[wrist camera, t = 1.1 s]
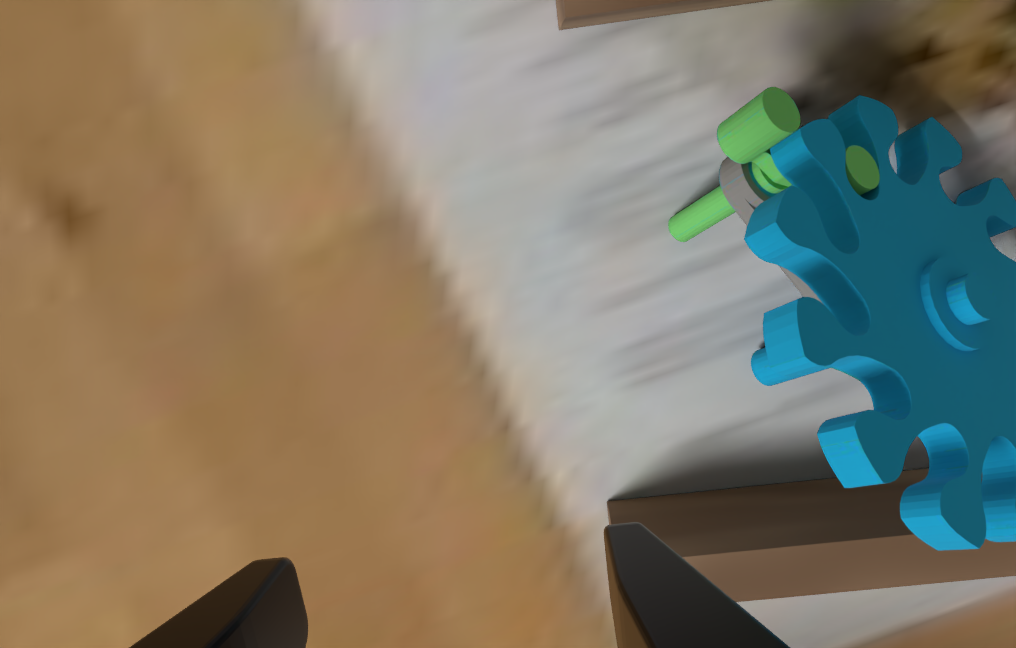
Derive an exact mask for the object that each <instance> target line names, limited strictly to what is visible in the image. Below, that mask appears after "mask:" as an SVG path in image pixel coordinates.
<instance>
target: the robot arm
mask: <svg viewBox="0 0 1016 648" xmlns="http://www.w3.org/2000/svg"><path fill="white" fill-rule="evenodd" d="M604 542H605V551H606V561H607V571H608V581H609V590H610V598H611V606H612V613H613V619H614V626H615V633H616V639H617V646H618V648H790V647H789V646H787V645H786V644H785V643H784V642H783V641H781V640H780V639H779V638H778V637H777V636H775V635H774V634H773V633H772V632H771V631H770V630H768V629H767V628H766V627H765V626H764V625H762V624H761V623H760V622H759V621H758V620H756V619H755V618H754V617H753V616H752V615H750V614H749V613H748V612H747V611H746V610H744V609H743V608H742V607H741V606H740V605H738V604H737V603H736V602H735V601H734V600H732V599H731V598H730V597H729V596H728V595H726V594H725V593H724V592H723V591H722V590H720V589H719V588H718V587H717V586H716V585H714V584H713V583H712V582H711V581H710V580H708V579H707V578H706V577H705V576H704V575H703V574H701V573H700V572H699V571H698V570H697V569H695V568H694V567H693V566H692V565H691V564H689V563H688V562H687V561H686V560H685V559H683V558H682V557H681V556H680V555H679V554H677V553H676V552H675V551H674V550H673V549H671V548H670V547H669V546H668V545H667V544H665V543H664V542H663V541H662V540H661V539H659V538H658V537H657V536H656V535H655V534H653V533H652V532H651V531H650V530H649V529H647V528H646V527H645V526H644V525H643V524H641V523H638V522H631V523H622V524H612V525H608V526H606V527H605V529H604ZM307 637H308V619H307V613H306V609H305V605H304V601H303V597H302V593H301V589H300V585H299V581H298V577H297V573H296V569H295V567H294V565H293V563H292V561H291V560H289V559H288V558H285V557H282V558H272V559H261V560H256V561H253V562H251V563H250V564H248V565H247V566H245V567H244V568H243V569H241V570H240V571H238V572H237V573H235V574H234V575H233V576H231V577H230V578H228V579H227V580H225V581H224V582H223V583H221V584H220V585H218V586H217V587H215V588H214V589H212V590H211V591H210V592H208V593H207V594H205V595H204V596H202V597H201V598H200V599H198V600H197V601H195V602H194V603H192V604H191V605H190V606H188V607H187V608H185V609H184V610H182V611H181V612H179V613H178V614H177V615H175V616H174V617H172V618H171V619H169V620H168V621H167V622H165V623H164V624H162V625H161V626H159V627H158V628H157V629H155V630H154V631H152V632H151V633H149V634H148V635H146V636H145V637H144V638H142V639H141V640H139V641H138V642H136V643H135V644H134V645H132V646H131V647H129V648H305V647H306V642H307Z"/></svg>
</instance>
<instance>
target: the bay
mask: <svg viewBox="0 0 1016 648" xmlns="http://www.w3.org/2000/svg"><path fill="white" fill-rule="evenodd" d="M763 1H770V0H556V7H557V17H558V26H559V30H563V29H570V28H578V27H585V26H592V25H599V24H606V23H613V22H620V21H628V20H635V19H642V18H649V17H656V16H663V15H670V14H677V13H685V12H692V11H699V10H706V9H713V8H720V7H727V6H735V5H742V4H749V3H756V2H763ZM928 472H929V468H927V469H917V470H907V471H902V472H901V474H900V476H899V477H898V478H897V479H896V480H895V481H893V482H890V483H885V484H877V485H870V486H862V487H855V488H844V487H843V485H842V484H841V482H840V481H839V479H838V478H830V479H820V480H810V481H801V482H791V483H781V484H771V485H762V486H752V487H742V488H733V489H723V490H713V491H704V492H694V493H684V494H675V495H665V496H655V497H645V498H636V499H626V500H616V501H607V507H608V517H609V525H612V524H622V523H631V522H638V523H641V524H643V525H644V526H645V527H646V528H647V529H649V530H650V531H651V532H652V533H653V534H655V535H656V536H657V537H658V538H659V539H661V540H662V541H663V542H664V543H665V544H667V545H668V546H669V547H670V548H671V549H673V550H674V551H675V552H676V553H677V554H679V555H680V556H681V557H682V558H683V559H685V560H686V561H687V562H688V563H689V564H691V565H692V566H693V567H694V568H695V569H697V570H698V571H699V572H700V573H701V574H703V575H704V576H705V577H706V578H707V579H708V580H710V581H711V582H712V583H713V584H714V585H716V586H717V587H718V588H719V589H720V590H722V591H723V592H724V593H725V594H726V595H728V596H729V597H730V598H731V599H732V600H734V601H735V602H741V601H752V600H762V599H773V598H784V597H794V596H805V595H815V594H826V593H837V592H847V591H858V590H868V589H879V588H890V587H900V586H911V585H921V584H932V583H942V582H953V581H964V580H974V579H985V578H995V577H1006V576H1016V541H1014V542H993V541H989V540H987V539H985V540H984V543H983V545H982V546H981V548H980V549H963V550H940V551H938V550H936V549H934V548H933V547H931V546H930V545H928V544H926V543H925V542H923V541H922V540H921V539H919V538H918V537H917V536H916V535H915V534H914V533H913V532H912V531H911V530H910V529H909V528H908V527H907V526H906V525H905V523H904V522H903V521H902V519H901V516H900V501H901V497H902V494H903V492H904V491H905V489H906V488H907V487H909V486H910V485H913V484H915V483H918V482H920V481H922V480H924V479H925V478H926V477H927V475H928ZM981 483H982V476H981Z"/></svg>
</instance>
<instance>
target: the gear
mask: <svg viewBox="0 0 1016 648" xmlns="http://www.w3.org/2000/svg"><path fill="white" fill-rule="evenodd" d="M799 126H800V114H799V111H798V108H797V106H796V104H795V103H794V101H793V100H792V98H791V97H790V96H789V95H788V94H787V93H786V92H784V91H783V90H781V89H779V88H776V87H770V88H767V89H766V90H764V91H763V92H762V93H760V94H759V95H758V96H756V97H755V98H754V99H752V100H751V101H750V102H749V103H747V104H746V105H745V106H743V107H742V108H741V109H739V110H738V111H737V112H735V113H734V114H733V115H731V116H730V117H729V118H727V119H726V120H725V121H724V122H722V123H721V124H720V125H719V127H718V130H717V138H718V142H719V145H720V147H721V148H722V150H723V152H724V153H725V154H726V155H727V156H728V157H727V158H726V159H725V160H724V161H723V162H722V164H721V166H720V169H719V182H720V186H718V187H717V188H715V189H714V190H712V191H711V192H709V193H708V194H706V195H705V196H703V197H702V198H700V199H699V200H697V201H696V202H694V203H693V204H691V205H690V206H688V207H686V208H685V209H683V210H682V211H680V212H679V213H677V214H676V215H674V216H673V217H671V218H670V220H669V224H668V226H669V230H670V233H671V234H672V236H673V237H674V238H675V239H676V240H678V241H680V242H686V241H688V240H689V239H691V238H693V237H694V236H696V235H698V234H699V233H701V232H703V231H704V230H706V229H708V228H709V227H711V226H713V225H714V224H716V223H718V222H719V221H721V220H723V219H724V218H726V217H728V216H730V215H731V214H733V213H735V212H736V213H737V214H738V215H739V216H740V218H741V219H742V220H743V221H744V223H745V224H746V225H747V230H746V234H745V238H744V240H745V241H746V243H747V245H748V247H749V248H750V249H751V250H752V252H753V253H754V254H755V255H757V256H758V257H759V258H760V259H762V260H764V261H766V262H769V263H773V264H777V265H779V266H780V268H781V269H782V270H783V271H784V273H785V274H786V275H787V276H788V278H789V279H790V280H791V281H792V283H793V284H794V285H795V286H796V288H797V289H798V290H799V292H800V293H801V294H802V295H803V297H802V298H799V299H797V300H795V301H792V302H790V303H787V304H785V305H783V306H780V307H778V308H775V309H773V310H771V311H768V312H766V313H764V320H763V335H764V342H765V348H762V349H760V350H757V351H756V352H755V353H754V354H753V356H752V359H751V367H752V371H753V373H754V375H755V377H756V378H757V379H758V380H759V381H760V382H761V383H762V384H764V385H767V386H772V385H775V384H778V383H782V382H785V381H788V380H792V379H795V378H798V377H801V376H805V375H808V374H811V373H815V372H818V371H821V370H825V369H828V368H834V369H836V370H839V371H842V372H844V373H846V374H848V375H850V376H852V377H854V378H856V379H858V380H859V381H861V382H862V383H863V384H864V385H865V387H866V388H867V390H868V391H869V393H870V395H871V398H872V401H873V406H874V410H867V411H862V412H858V413H854V414H850V415H845V416H841V417H837V418H832V419H829V420H826V421H825V422H824V423H822V425H821V426H820V428H819V430H818V433H817V435H818V439H819V442H820V445H821V448H822V450H823V452H824V455H825V457H826V459H827V461H828V463H829V464H830V466H831V468H832V470H833V471H834V473H835V474H836V476H837V478H838V479H839V481H840V482H841V484H842V485H843V487H844V488H855V487H862V486H870V485H877V484H885V483H890V482H893V481H895V480H896V479H897V478H898V477H899V476H900V474H901V472H902V470H903V466H904V461H905V457H906V454H907V452H908V449H909V447H910V445H911V444H912V442H913V441H914V439H915V437H916V436H918V437H919V438H920V439H921V441H922V442H923V444H924V446H925V447H926V450H927V453H928V457H929V472H928V475H927V477H926V478H925V479H924V480H922V481H920V482H918V483H915V484H913V485H910V486H909V487H907V488H906V489H905V491H904V492H903V494H902V497H901V501H900V516H901V519H902V521H903V522H904V523H905V525H906V526H907V527H908V528H909V529H910V530H911V531H912V532H913V533H914V534H915V535H916V536H917V537H918V538H919V539H921V540H922V541H923V542H925V543H926V544H928V545H930V546H931V547H933V548H934V549H936V550H938V551H940V550H963V549H980V548H981V546H982V545H983V543H984V540H985V539H987V540H989V541H993V542H1014V541H1016V262H1015V261H1013V260H1011V259H1010V258H1008V257H1007V256H1005V255H1004V254H1002V253H1001V252H999V251H998V250H997V249H996V248H995V246H994V245H993V243H992V242H991V240H990V237H992V236H995V235H997V234H1000V233H1002V232H1005V231H1008V230H1010V229H1013V228H1015V227H1016V201H1015V199H1014V197H1013V196H1012V194H1011V192H1010V191H1009V189H1008V188H1007V186H1006V185H1005V183H1004V182H1003V180H1002V179H1000V178H993V179H991V180H989V181H987V182H985V183H982V184H980V185H978V186H976V187H974V188H972V189H969V190H967V191H965V192H963V193H961V194H959V196H958V198H957V202H956V204H954V203H953V202H952V201H951V200H950V199H949V198H948V197H947V195H946V194H945V192H944V191H943V189H942V186H941V184H940V180H939V174H941V173H943V172H945V171H947V170H949V169H951V168H953V167H955V166H957V165H958V164H960V162H961V160H962V149H961V146H960V145H959V143H958V142H957V141H956V139H955V138H954V137H953V136H952V135H951V134H950V132H948V131H947V130H946V129H945V128H944V127H943V126H942V125H941V124H940V123H939V122H938V121H936V120H935V119H934V118H933V117H930V118H928V119H927V120H925V121H923V122H921V123H920V124H918V125H916V126H914V127H913V128H911V129H909V130H907V131H906V132H904V133H902V134H900V135H899V136H898V123H897V119H896V117H895V114H894V112H893V110H892V109H890V108H889V107H888V106H886V105H885V104H883V103H881V102H879V101H877V100H874V99H872V98H869V97H865V96H861V95H859V96H857V97H856V98H854V99H853V100H851V101H850V102H848V103H847V104H845V105H844V106H842V107H840V108H839V109H837V110H836V111H834V112H833V113H831V114H830V115H829V117H828V119H818V120H814V121H812V122H810V123H808V124H806V125H805V126H803V127H802V128H800V129H799V130H797V129H798V128H799ZM795 131H796V132H795ZM784 138H785V139H784ZM895 139H896V140H895ZM781 140H782V141H781ZM894 141H895V153H896V158H897V175H896V173H895V172H894V170H893V168H892V166H891V164H890V161H889V155H888V152H889V148H890V146H891V145H892V143H893V142H894ZM981 476H982V483H981Z"/></svg>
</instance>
